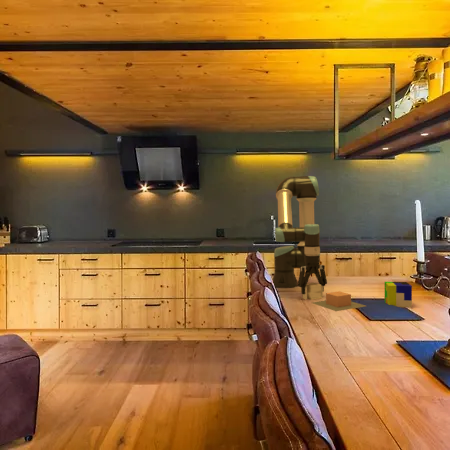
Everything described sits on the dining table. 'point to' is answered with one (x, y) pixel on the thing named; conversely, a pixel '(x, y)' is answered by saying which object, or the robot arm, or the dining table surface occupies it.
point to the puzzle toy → (398, 294)
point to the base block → (338, 299)
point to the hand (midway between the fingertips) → (312, 299)
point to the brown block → (313, 291)
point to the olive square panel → (353, 305)
